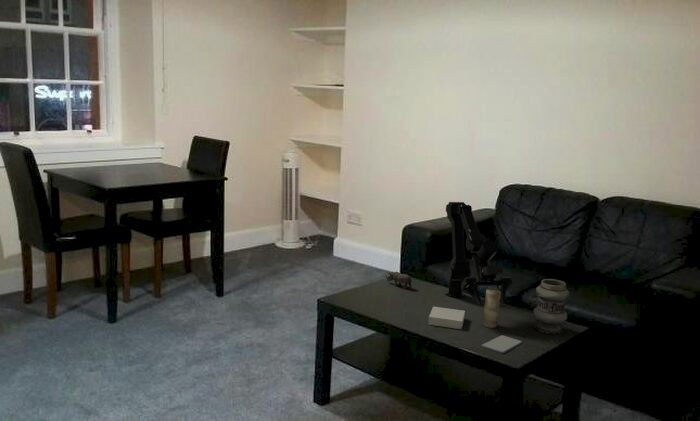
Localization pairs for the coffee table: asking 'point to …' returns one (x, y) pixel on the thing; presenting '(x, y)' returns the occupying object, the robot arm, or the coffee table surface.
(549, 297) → the apothecary jar
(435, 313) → the cream plinth
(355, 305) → the coffee table surface
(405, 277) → the rhino figurine
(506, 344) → the smartphone
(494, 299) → the birch pillar
